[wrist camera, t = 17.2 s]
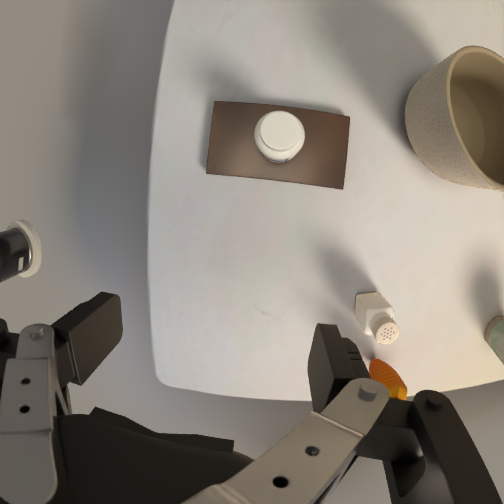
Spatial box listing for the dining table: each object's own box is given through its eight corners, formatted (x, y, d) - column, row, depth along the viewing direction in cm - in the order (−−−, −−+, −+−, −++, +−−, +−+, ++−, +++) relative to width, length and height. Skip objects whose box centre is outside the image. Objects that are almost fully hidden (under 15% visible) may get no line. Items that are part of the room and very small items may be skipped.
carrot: (365, 346, 44) (394, 406, 29) (391, 348, 44) (425, 405, 29) (355, 370, 45) (378, 432, 30) (381, 372, 45) (409, 431, 30)
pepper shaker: (380, 290, 42) (404, 317, 32) (377, 314, 42) (399, 345, 33) (355, 292, 42) (374, 320, 33) (353, 316, 43) (371, 349, 34)
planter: (369, 127, 36) (418, 103, 21) (424, 58, 32) (475, 22, 18) (446, 208, 38) (510, 223, 23) (491, 135, 34) (553, 129, 19)
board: (208, 173, 39) (205, 173, 38) (216, 103, 37) (214, 100, 35) (340, 189, 39) (343, 189, 37) (347, 118, 36) (350, 116, 35)
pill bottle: (283, 114, 35) (286, 94, 26) (307, 148, 36) (319, 137, 27) (248, 137, 36) (241, 123, 27) (273, 171, 37) (273, 167, 28)
